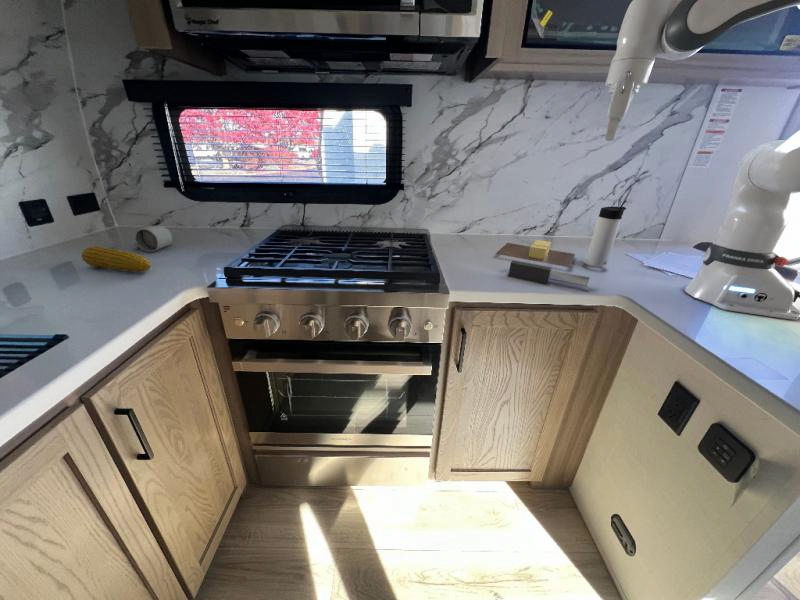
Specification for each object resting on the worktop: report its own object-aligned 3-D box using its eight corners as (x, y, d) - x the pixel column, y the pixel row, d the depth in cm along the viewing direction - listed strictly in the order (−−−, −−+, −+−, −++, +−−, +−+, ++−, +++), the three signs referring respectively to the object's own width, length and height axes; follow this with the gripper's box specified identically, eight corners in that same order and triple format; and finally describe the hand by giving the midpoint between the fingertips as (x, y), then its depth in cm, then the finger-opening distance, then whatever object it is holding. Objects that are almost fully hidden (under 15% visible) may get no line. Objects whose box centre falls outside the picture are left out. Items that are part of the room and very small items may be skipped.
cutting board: (573, 257, 119) (574, 253, 118) (569, 271, 105) (570, 267, 105) (506, 246, 129) (507, 242, 129) (494, 257, 116) (495, 253, 115)
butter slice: (545, 257, 114) (547, 247, 112) (543, 259, 111) (546, 249, 110) (530, 254, 116) (532, 244, 114) (528, 256, 113) (530, 246, 112)
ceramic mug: (176, 245, 116) (170, 223, 113) (161, 252, 109) (153, 229, 105) (147, 244, 116) (140, 222, 113) (129, 251, 109) (121, 228, 106)
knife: (585, 289, 93) (590, 274, 91) (585, 292, 91) (589, 277, 89) (510, 273, 102) (512, 260, 100) (508, 276, 100) (510, 262, 98)
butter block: (548, 251, 120) (550, 242, 118) (545, 256, 114) (548, 246, 113) (534, 248, 122) (536, 239, 121) (530, 253, 117) (532, 244, 115)
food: (82, 268, 94) (73, 248, 91) (102, 262, 99) (94, 243, 96) (143, 276, 90) (137, 255, 88) (161, 269, 95) (155, 249, 93)
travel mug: (609, 272, 106) (629, 208, 97) (587, 270, 107) (605, 207, 99) (602, 266, 112) (621, 205, 103) (581, 264, 113) (598, 204, 104)
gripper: (646, 68, 70) (623, 140, 77) (640, 83, 86) (622, 141, 93) (612, 69, 73) (593, 138, 79) (612, 83, 89) (596, 140, 95)
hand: (608, 140), depth 86 cm, fingers open, 8 cm apart
